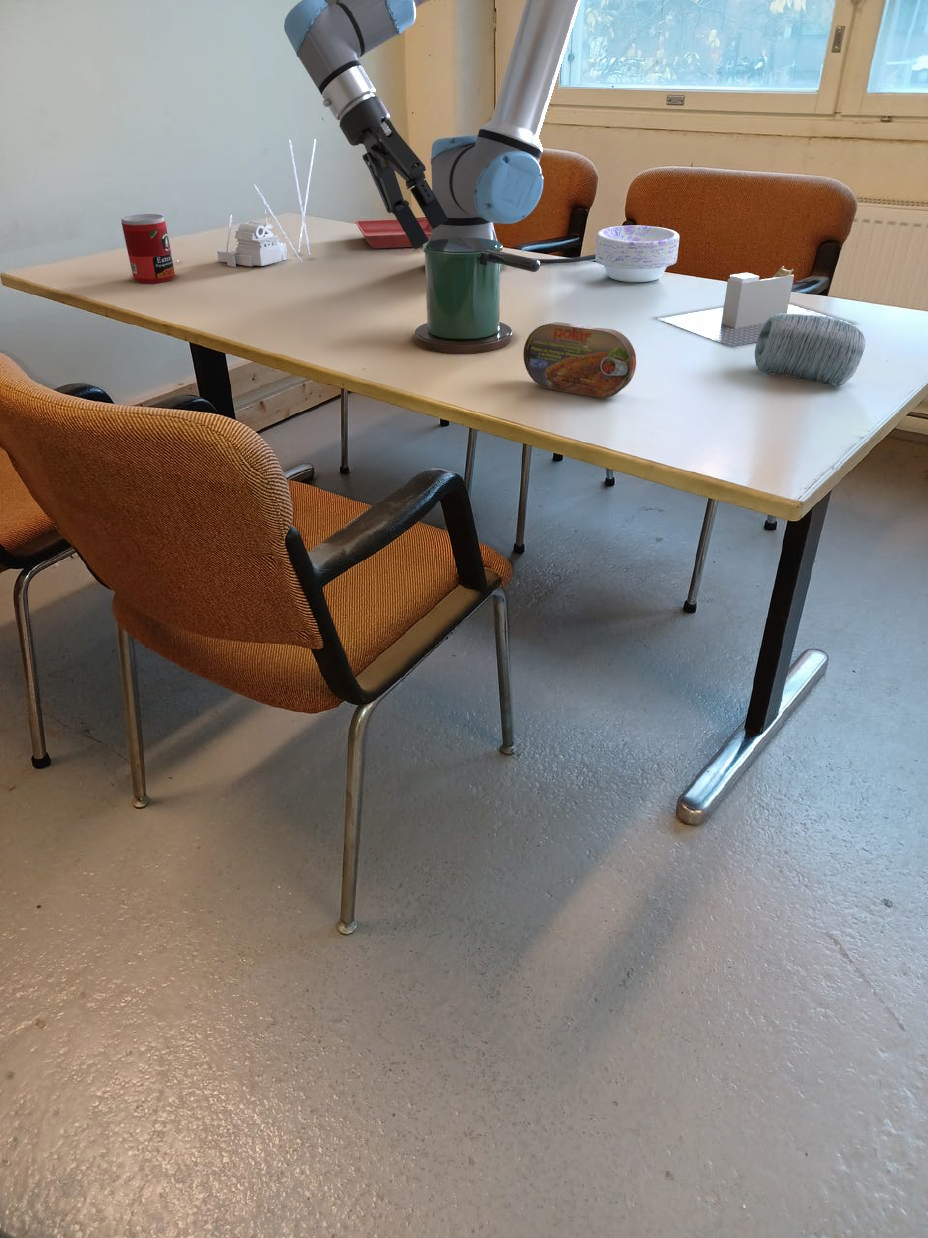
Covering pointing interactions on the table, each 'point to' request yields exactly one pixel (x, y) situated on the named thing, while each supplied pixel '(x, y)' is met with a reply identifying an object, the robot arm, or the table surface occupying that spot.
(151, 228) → the canned food
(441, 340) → the turntable
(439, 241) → the pot
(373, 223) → the plant saucer
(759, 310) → the model
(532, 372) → the tin
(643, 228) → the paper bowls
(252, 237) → the wifi router
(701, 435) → the table surface
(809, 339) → the spool
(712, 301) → the table surface
